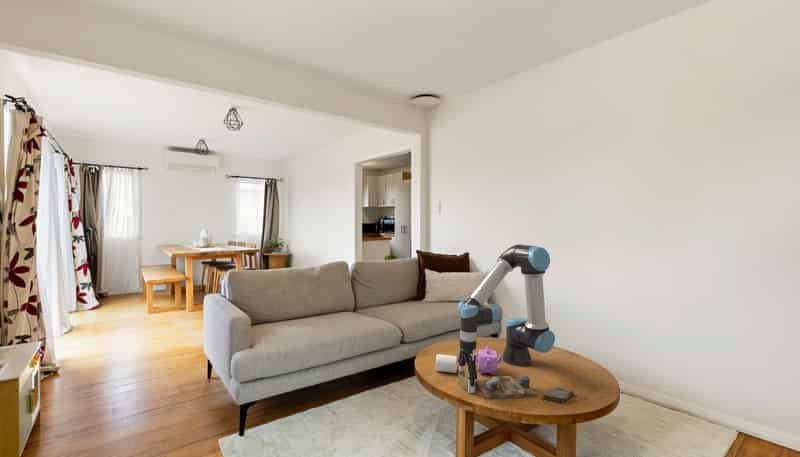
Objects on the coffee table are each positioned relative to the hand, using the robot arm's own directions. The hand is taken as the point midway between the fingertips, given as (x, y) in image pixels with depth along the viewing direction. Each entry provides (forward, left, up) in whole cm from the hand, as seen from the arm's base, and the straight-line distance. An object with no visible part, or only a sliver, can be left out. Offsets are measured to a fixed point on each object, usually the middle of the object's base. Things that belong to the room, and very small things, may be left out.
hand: (466, 386), depth 167 cm
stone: (-37, +14, -1) cm, 40 cm away
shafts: (-17, +6, +1) cm, 18 cm away
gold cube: (0, 0, 0) cm, 0 cm away
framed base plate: (-17, +4, 0) cm, 17 cm away
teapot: (-16, -15, 0) cm, 22 cm away
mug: (+4, -19, 0) cm, 19 cm away
